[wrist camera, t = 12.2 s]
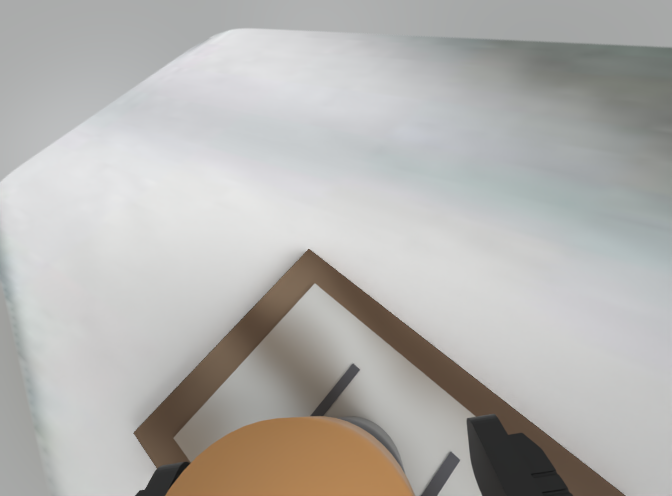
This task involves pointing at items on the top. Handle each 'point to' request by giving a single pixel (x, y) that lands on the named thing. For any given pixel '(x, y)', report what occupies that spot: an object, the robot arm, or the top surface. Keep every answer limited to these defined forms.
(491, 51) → the top surface
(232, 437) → the orange-capped grey cylinder
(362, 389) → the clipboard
